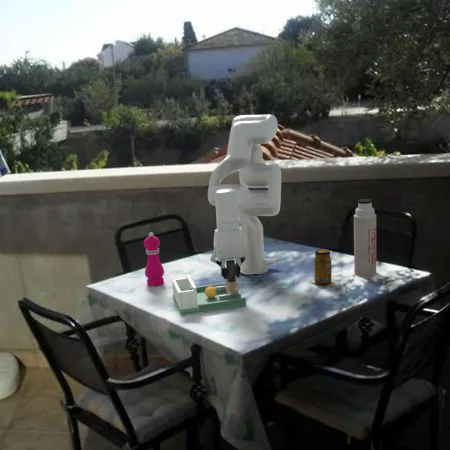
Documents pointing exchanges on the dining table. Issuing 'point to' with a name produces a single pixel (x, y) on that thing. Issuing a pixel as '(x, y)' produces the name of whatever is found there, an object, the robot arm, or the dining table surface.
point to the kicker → (231, 277)
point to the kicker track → (227, 296)
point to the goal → (185, 293)
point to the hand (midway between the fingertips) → (231, 276)
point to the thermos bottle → (365, 239)
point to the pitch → (211, 301)
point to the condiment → (323, 269)
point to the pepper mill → (153, 261)
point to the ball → (210, 292)
